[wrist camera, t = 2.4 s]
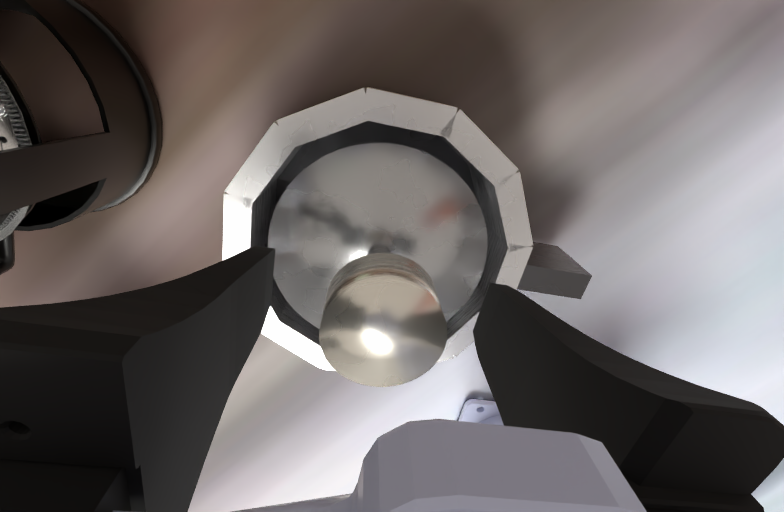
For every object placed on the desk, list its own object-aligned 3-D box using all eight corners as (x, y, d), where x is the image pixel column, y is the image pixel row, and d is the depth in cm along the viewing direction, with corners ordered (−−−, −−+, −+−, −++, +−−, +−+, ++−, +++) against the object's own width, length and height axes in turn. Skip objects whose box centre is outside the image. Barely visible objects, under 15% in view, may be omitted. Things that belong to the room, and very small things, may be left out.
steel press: (591, 136, 18) (659, 152, 13) (509, 337, 22) (540, 394, 18) (264, 63, 16) (225, 56, 11) (251, 301, 20) (221, 357, 16)
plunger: (512, 165, 14) (598, 215, 9) (451, 346, 18) (487, 459, 12) (279, 118, 13) (217, 141, 8) (265, 322, 17) (215, 434, 11)
